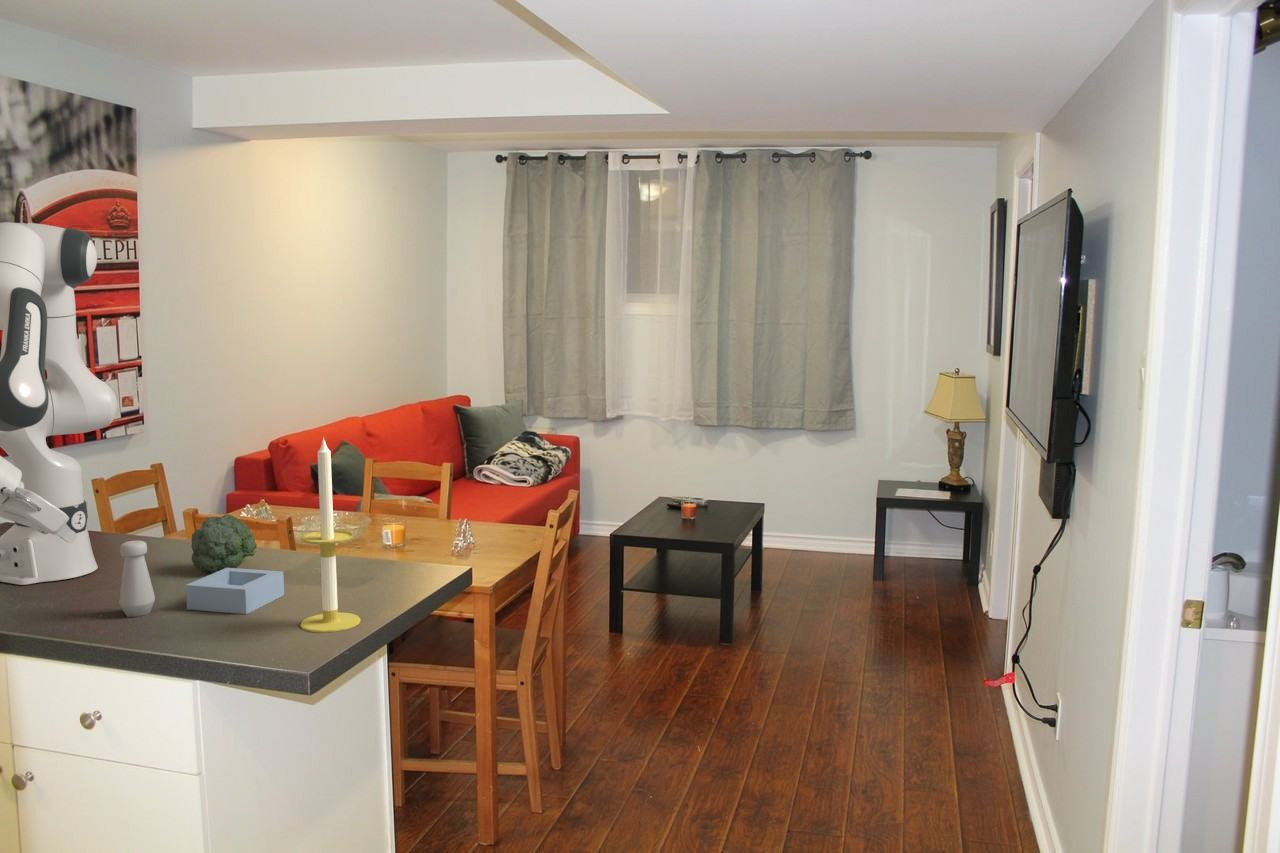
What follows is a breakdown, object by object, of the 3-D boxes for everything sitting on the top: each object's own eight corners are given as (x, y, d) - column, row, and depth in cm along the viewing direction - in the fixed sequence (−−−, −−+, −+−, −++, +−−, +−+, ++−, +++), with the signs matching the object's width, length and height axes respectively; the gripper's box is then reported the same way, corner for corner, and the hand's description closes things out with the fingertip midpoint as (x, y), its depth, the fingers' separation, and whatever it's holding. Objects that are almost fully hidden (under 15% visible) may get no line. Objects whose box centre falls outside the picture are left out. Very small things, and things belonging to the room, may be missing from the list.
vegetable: (281, 551, 218) (251, 535, 204) (236, 596, 216) (202, 583, 201) (245, 514, 221) (212, 496, 207) (200, 558, 219) (164, 543, 205)
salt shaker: (120, 610, 184) (116, 539, 183) (156, 606, 186) (151, 536, 185) (118, 620, 179) (113, 547, 177) (155, 616, 181) (150, 544, 179)
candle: (287, 627, 175) (279, 438, 171) (327, 611, 184) (320, 431, 180) (334, 635, 171) (326, 442, 167) (372, 618, 180) (366, 434, 176)
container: (187, 609, 185) (185, 585, 184) (228, 590, 197) (226, 567, 196) (246, 614, 182) (245, 589, 182) (284, 594, 194) (283, 571, 193)
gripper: (32, 477, 157) (102, 528, 166) (-20, 463, 170) (47, 511, 179) (3, 510, 155) (75, 560, 163) (-49, 493, 167) (21, 541, 176)
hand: (60, 534), depth 171 cm, fingers open, 8 cm apart
